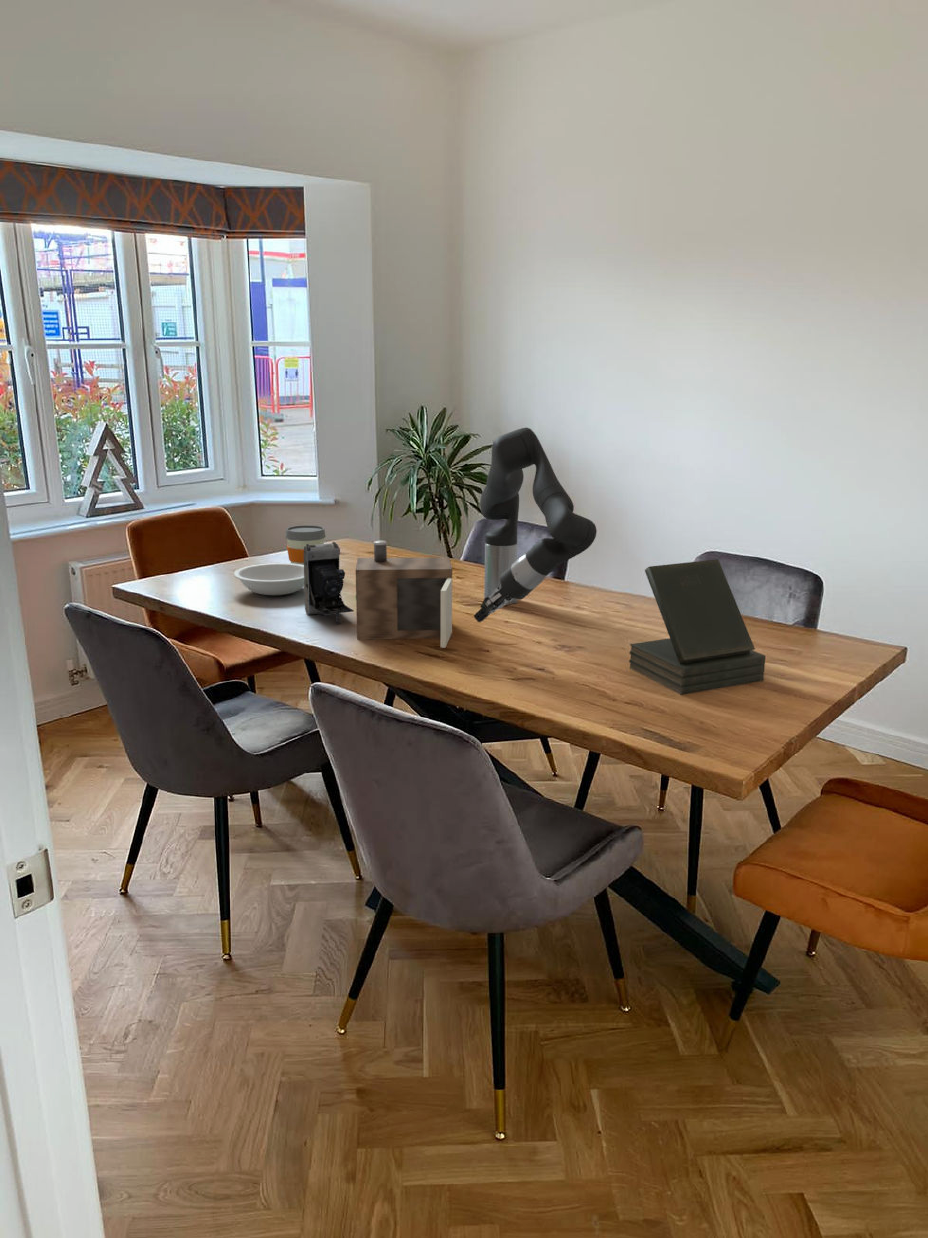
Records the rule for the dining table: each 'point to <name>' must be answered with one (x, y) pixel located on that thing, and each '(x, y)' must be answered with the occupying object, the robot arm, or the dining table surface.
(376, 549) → the film canister
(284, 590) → the soup bowl
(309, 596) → the vintage camera
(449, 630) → the side door
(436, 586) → the walnut box
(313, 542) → the reusable coffee cup
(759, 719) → the dining table surface
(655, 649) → the stack of books
